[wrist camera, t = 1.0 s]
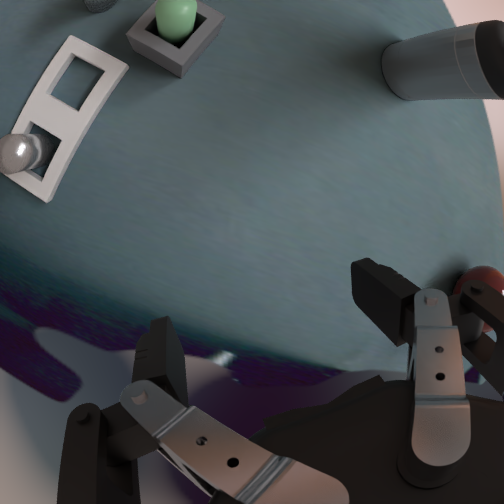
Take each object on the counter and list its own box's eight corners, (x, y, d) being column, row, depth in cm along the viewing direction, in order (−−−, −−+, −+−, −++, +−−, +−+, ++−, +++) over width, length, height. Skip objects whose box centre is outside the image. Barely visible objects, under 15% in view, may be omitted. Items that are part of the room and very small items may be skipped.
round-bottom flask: (483, 252, 52) (553, 290, 34) (469, 307, 56) (529, 350, 38) (447, 259, 49) (528, 306, 31) (432, 319, 54) (498, 374, 35)
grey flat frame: (74, 38, 25) (70, 34, 23) (129, 67, 28) (127, 64, 27) (2, 167, 27) (-5, 168, 26) (51, 200, 31) (46, 202, 29)
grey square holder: (170, 7, 26) (170, -15, 21) (217, 34, 29) (225, 16, 23) (133, 50, 27) (125, 34, 22) (181, 78, 30) (182, 65, 25)
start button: (173, 10, 24) (173, -15, 18) (200, 25, 25) (205, 3, 19) (151, 34, 24) (146, 12, 19) (178, 50, 25) (179, 30, 20)
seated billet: (36, 128, 27) (4, 127, 20) (59, 142, 29) (30, 144, 22) (22, 157, 28) (-11, 164, 21) (44, 172, 30) (14, 181, 22)
